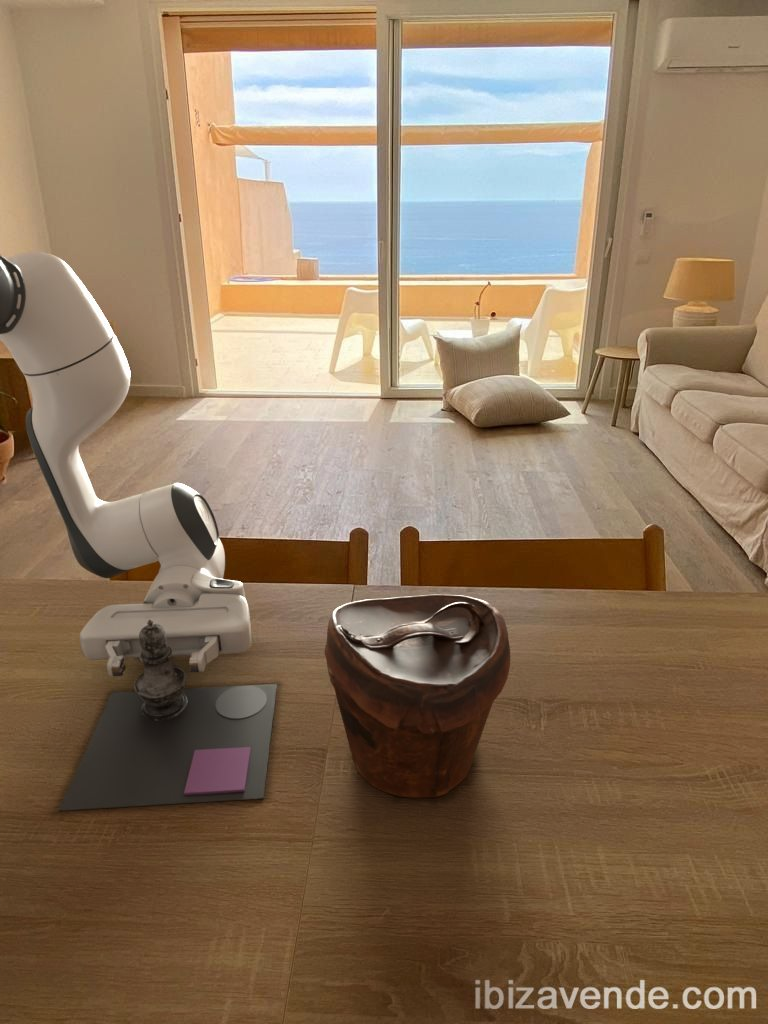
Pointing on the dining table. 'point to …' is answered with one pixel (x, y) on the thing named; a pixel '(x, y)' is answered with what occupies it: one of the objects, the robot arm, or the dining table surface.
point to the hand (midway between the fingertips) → (155, 669)
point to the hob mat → (171, 748)
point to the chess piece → (159, 677)
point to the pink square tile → (218, 771)
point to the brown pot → (416, 686)
